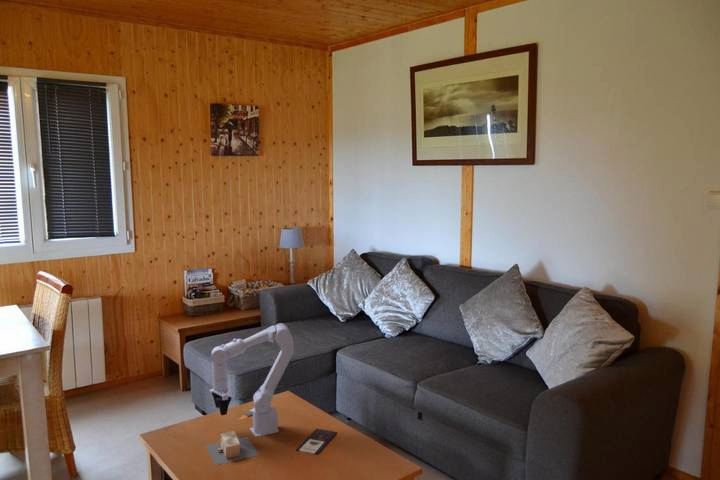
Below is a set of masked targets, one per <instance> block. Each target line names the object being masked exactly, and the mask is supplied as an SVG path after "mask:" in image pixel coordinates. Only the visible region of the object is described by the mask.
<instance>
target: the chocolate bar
mask: <svg viewBox="0 0 720 480" xmlns="http://www.w3.org/2000/svg"><path fill="white" fill-rule="evenodd" d="M337 435H338V431H334V430H333V431H332V430H326V429H321V428H315V429H314V430H313V432H311V434H310V435H308V437H306V438H305V440H304V441H303V442H301V444H299V446H298V447H297V448H296V449H295V451H296V452H301V453H307V454H312V455H316V456H318V455H319V454H320V453H321V452H322V451H323V450H324V449H325V447H326V446H327V445H328V444H329V443H330V442H331V441H332V440H333V438H335V437H336V436H337Z"/></svg>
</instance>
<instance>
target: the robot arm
mask: <svg viewBox="0 0 720 480" xmlns="http://www.w3.org/2000/svg"><path fill="white" fill-rule="evenodd" d="M266 341H267V342H270V343H271V344H272V343H273V344H274V343H275V342H276V343H277V344H278V346H279V349H280V351H279V353H278V355H277V357H276V359H275V361H274V363H273V365H272V366H271V368H270V370H269V372H268V374H267V376H266V378H265V380H264V382H263V384H262V385H260V387H259V389H258V390H257V391H255V393H253V396H252V400H253V404H254V407H253V408H252V409H253V415H252V427H250V428H249V430H250V431H251V433H252V434H253V435H254V437H256V438H258V437H262V436H267V435H270V434H275V433H279V431H280V430H279V422H278V421H279V417H278V412H277V409H276V407H272V406H271V403H272V401H273V397H274V393H275V390H276V389H277V386H278V384H279V382H280V380H281V378H282V377H283V375H284V373H285V370H286V369H287V367H288V364H289V363H290V361H291V359H292V357H293V355H294V352H295V347H294V338H293V336H292V333H291V331H290V328H289V327H288V325H287V324H285V323H282V322H280V323H277V324H275V325H270V326H269V327H267V328H265V329H263V330H262V331H259V332H257V333H255V334H253V335H251V336H249V337H247V338H244V339H242V338H233V339H232V341H230V342H227V343H225V344H224V343H223V344H221V345H219V346H218V345H217V346H215V347H214V348H212V351H211V352H210V354H211V355H210V357H211V361H212V362H211V376H212V379H211V380H212V388H211V389H209V393H211V395H212V398H213V401H214V405H215V408H216V409H219V413H220V416H225V415H226V416H227V414H228V411H229V410H228V408H229V405H230V403H231V401H232V397H231V396H229V386H228V385H229V382H228V380H229V379H228V365H227V360H230V359H232V358H234V357H237V356H239V355H241V354H244V353H245V352H246V350H247V348H250V347H253V346H256V345H258V344H261V343H263V342H266Z"/></svg>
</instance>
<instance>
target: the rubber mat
mask: <svg viewBox="0 0 720 480" xmlns="http://www.w3.org/2000/svg"><path fill="white" fill-rule="evenodd" d="M237 438H238V441H239V443H240V456H235V457H231V458H227V459H226V457H225V455H224V452H221V453H218V449H219V448H222V447H221V441H220V442H216V443H211V444H207V445H205V447H206V449H207V452H208V453H209V455H210V457H211V460H212V461H213V464H214V466H219V465H223V464H228V463H233V462H235V461H239V460H243V459H248V458H253V457H256V456H259V455H260V454H259V452H258V451H257V449H256V448H255V446H254V444H253V443H252V442H251V440H250V439H249V437H248V436H243V437H237Z"/></svg>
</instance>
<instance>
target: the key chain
mask: <svg viewBox="0 0 720 480" xmlns="http://www.w3.org/2000/svg"><path fill="white" fill-rule="evenodd" d="M248 417H253V408H252V409H249V411H248V412H246V413H245V414H243V415H242V416H241V417H240V418H238V420H243V419H246V418H248Z"/></svg>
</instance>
